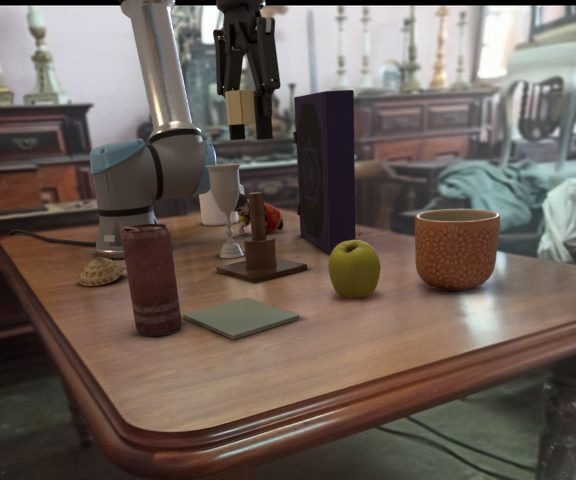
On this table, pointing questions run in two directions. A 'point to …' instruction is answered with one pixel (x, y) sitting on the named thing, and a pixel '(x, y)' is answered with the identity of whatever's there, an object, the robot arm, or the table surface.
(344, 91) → the book
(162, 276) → the can
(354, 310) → the table surface
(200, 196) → the mug
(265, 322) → the mat
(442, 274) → the planter
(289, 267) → the stand
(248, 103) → the tape roll
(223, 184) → the chalice
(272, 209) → the figurine
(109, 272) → the seashell
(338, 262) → the apple
